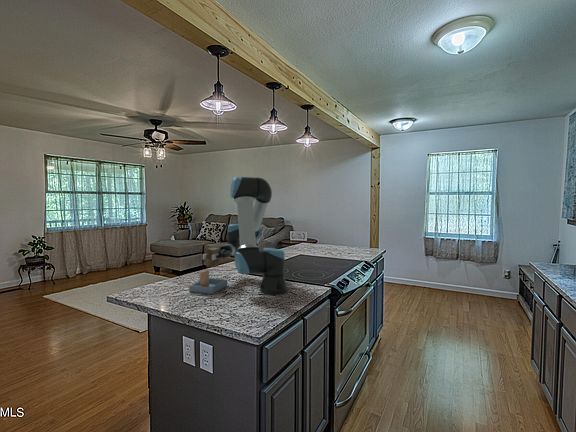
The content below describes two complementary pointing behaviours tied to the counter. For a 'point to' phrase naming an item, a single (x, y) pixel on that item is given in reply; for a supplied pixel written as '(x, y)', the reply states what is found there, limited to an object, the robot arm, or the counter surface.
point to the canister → (204, 278)
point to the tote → (213, 286)
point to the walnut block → (209, 257)
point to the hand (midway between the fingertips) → (207, 257)
